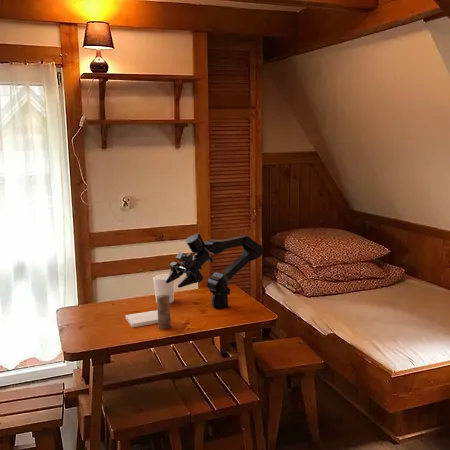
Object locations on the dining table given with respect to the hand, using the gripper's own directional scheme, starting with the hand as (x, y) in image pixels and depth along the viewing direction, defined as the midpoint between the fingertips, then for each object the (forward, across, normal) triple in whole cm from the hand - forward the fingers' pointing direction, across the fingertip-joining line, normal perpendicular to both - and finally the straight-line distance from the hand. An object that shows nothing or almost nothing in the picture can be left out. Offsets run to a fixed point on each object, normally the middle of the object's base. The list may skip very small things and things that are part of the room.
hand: (172, 284), depth 222 cm
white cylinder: (-2, -25, +19) cm, 31 cm away
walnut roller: (+14, +4, +10) cm, 18 cm away
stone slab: (+15, -8, +9) cm, 19 cm away
